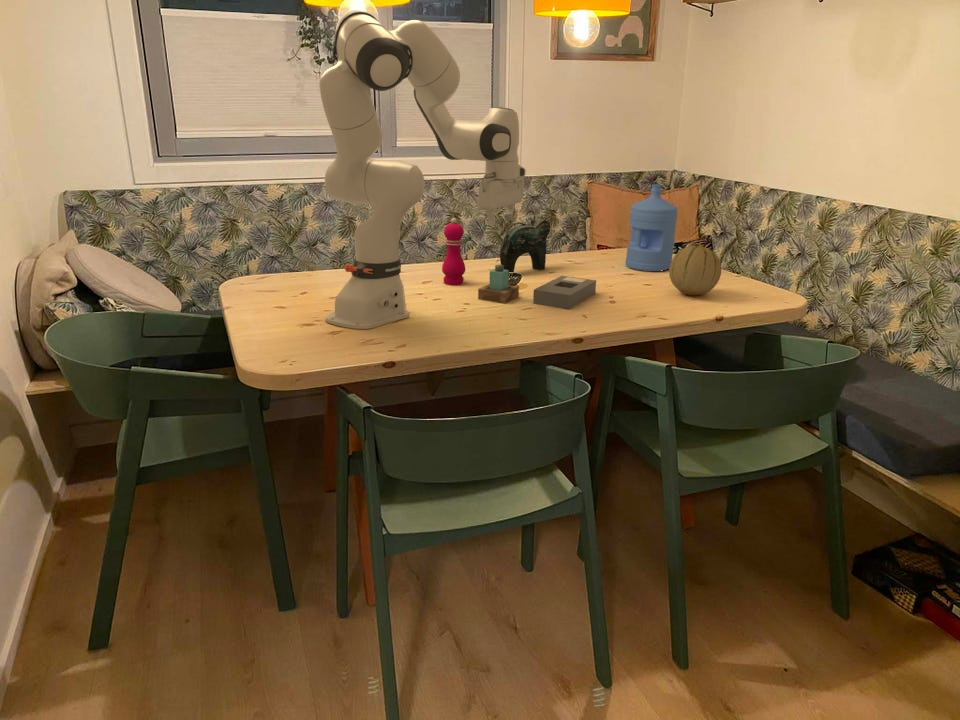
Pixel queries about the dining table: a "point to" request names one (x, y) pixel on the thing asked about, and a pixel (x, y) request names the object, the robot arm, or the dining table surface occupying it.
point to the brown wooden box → (498, 294)
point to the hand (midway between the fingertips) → (500, 222)
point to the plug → (499, 278)
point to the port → (564, 292)
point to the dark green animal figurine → (525, 243)
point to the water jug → (652, 233)
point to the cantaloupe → (695, 270)
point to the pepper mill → (453, 254)
